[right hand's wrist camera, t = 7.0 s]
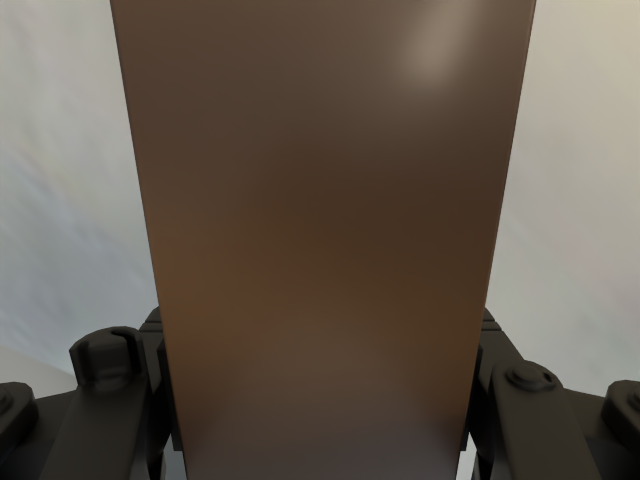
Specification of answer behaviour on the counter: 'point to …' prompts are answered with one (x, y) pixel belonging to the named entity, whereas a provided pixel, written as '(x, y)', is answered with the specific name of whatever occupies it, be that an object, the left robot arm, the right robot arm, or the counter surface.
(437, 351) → the post
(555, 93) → the counter surface
